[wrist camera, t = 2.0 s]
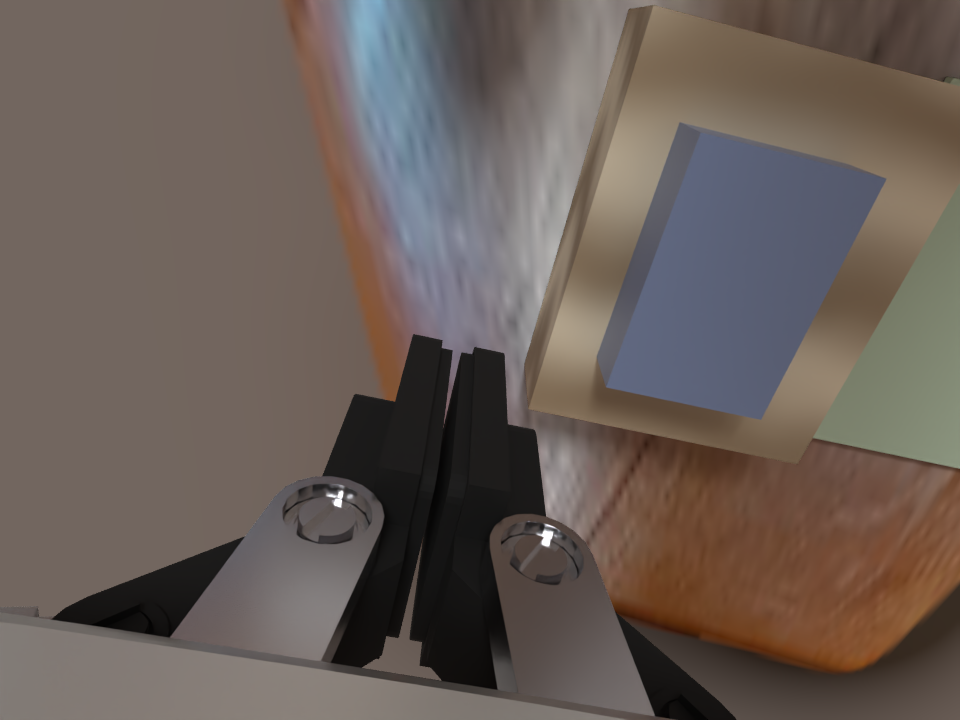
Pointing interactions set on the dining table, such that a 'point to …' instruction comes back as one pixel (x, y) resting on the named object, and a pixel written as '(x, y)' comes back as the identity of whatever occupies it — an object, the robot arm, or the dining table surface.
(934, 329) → the mat
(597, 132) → the plate
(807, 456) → the dining table surface
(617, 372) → the blue rectangular block
